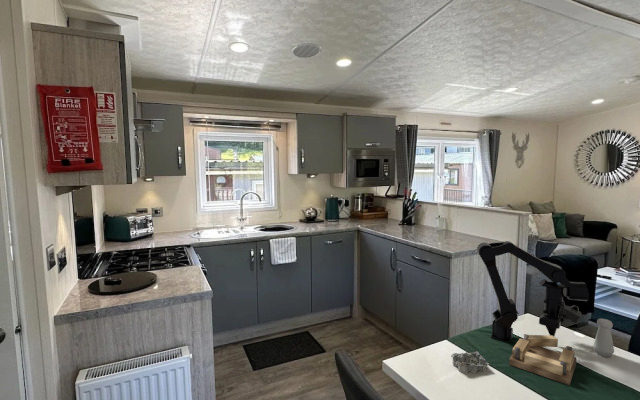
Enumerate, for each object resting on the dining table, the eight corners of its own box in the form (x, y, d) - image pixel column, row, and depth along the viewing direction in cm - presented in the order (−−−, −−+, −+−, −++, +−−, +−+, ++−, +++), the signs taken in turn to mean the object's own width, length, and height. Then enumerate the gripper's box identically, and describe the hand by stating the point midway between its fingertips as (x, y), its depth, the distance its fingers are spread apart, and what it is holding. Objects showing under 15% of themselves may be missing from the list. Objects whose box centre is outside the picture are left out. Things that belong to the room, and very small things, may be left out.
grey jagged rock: (460, 374, 109) (460, 362, 109) (449, 362, 117) (449, 351, 117) (490, 372, 110) (490, 360, 110) (478, 360, 118) (478, 349, 117)
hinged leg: (525, 346, 122) (526, 337, 122) (521, 342, 125) (521, 333, 125) (557, 347, 122) (557, 337, 121) (552, 343, 125) (552, 333, 124)
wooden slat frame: (508, 364, 114) (509, 348, 114) (521, 346, 127) (521, 331, 126) (569, 385, 103) (570, 367, 102) (576, 362, 115) (577, 346, 115)
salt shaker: (618, 359, 117) (619, 324, 116) (599, 358, 118) (601, 322, 117) (607, 351, 123) (608, 317, 122) (589, 349, 124) (591, 316, 123)
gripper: (577, 310, 114) (575, 353, 115) (583, 296, 128) (581, 335, 129) (539, 302, 122) (538, 343, 123) (548, 289, 136) (547, 326, 137)
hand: (552, 336), depth 128 cm, fingers closed
